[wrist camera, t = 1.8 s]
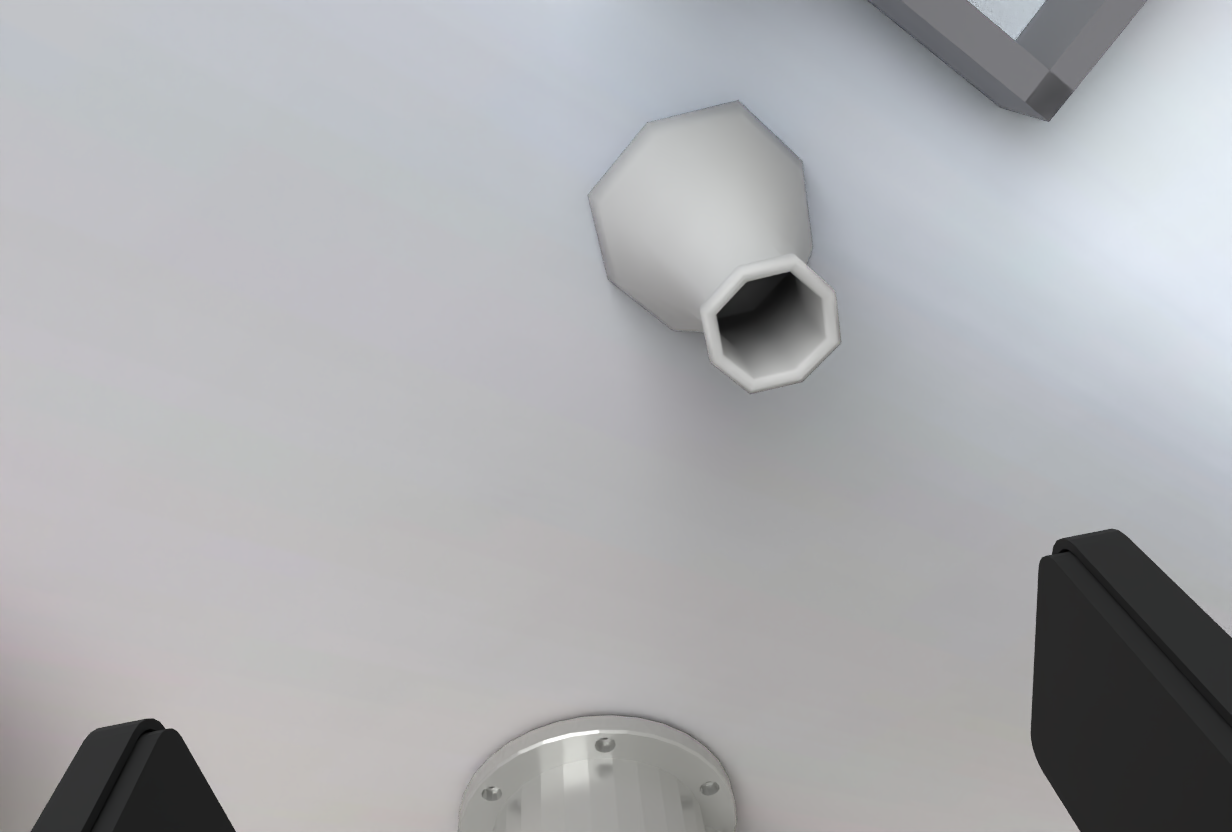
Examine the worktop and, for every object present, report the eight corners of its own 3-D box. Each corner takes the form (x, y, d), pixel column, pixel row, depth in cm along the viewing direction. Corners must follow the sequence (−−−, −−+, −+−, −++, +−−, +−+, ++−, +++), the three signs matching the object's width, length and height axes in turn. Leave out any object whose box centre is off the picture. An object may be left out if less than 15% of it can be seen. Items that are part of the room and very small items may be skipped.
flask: (846, 252, 30) (975, 371, 21) (660, 360, 31) (709, 515, 22) (748, 55, 27) (851, 97, 18) (548, 183, 28) (552, 281, 19)
